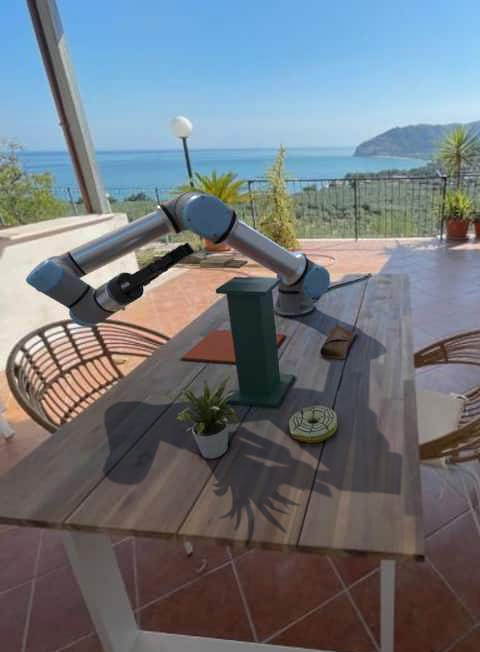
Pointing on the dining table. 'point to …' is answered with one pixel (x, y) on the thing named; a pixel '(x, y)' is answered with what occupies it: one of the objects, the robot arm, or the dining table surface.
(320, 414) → the decorated donut
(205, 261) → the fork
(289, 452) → the dining table surface
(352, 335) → the sunglasses case
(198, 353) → the mat
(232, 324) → the stand
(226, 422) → the house plant
